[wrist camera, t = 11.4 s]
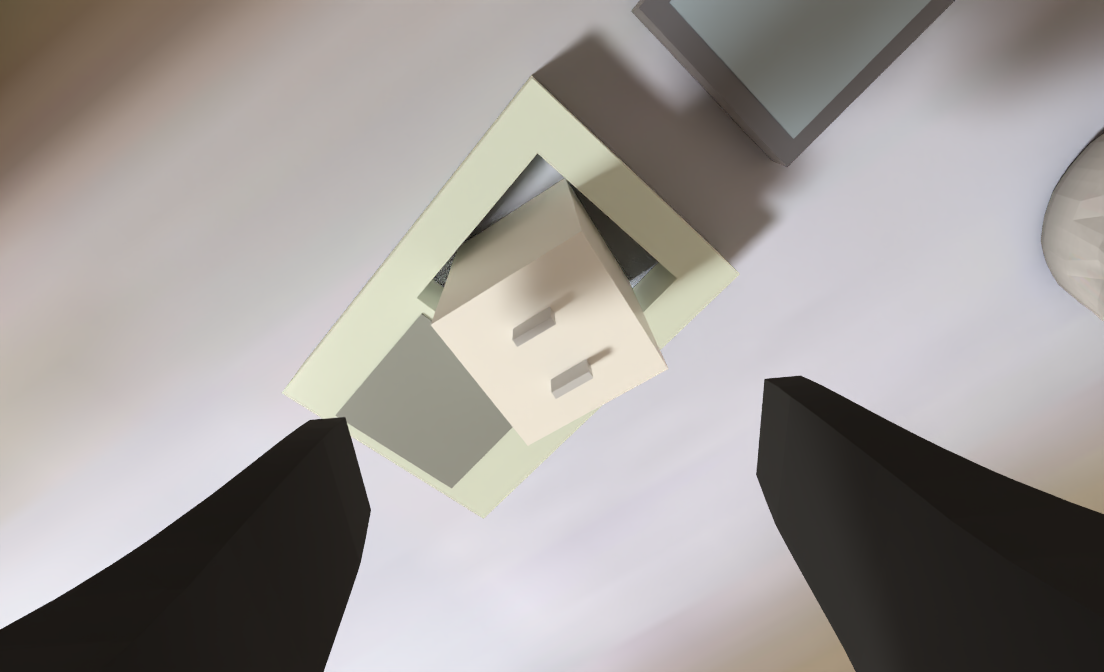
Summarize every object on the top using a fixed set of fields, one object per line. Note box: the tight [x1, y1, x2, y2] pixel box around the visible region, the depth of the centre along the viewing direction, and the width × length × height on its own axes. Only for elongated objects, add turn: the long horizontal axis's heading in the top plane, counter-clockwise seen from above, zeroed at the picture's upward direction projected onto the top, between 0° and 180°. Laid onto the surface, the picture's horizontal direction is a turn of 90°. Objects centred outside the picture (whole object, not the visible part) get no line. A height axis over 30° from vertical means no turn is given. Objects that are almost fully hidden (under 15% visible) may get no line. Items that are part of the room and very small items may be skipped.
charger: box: [431, 178, 668, 446], centre depth 16 cm, size 4×4×7 cm
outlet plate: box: [282, 75, 739, 519], centre depth 19 cm, size 8×12×2 cm, turn 139°
